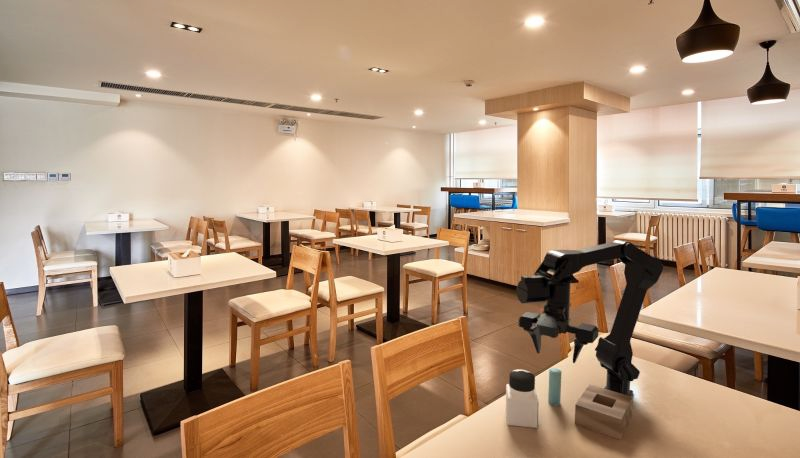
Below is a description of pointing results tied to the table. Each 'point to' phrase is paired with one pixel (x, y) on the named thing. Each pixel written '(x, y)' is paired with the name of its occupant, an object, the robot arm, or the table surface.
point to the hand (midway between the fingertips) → (555, 357)
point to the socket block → (603, 411)
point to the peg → (554, 387)
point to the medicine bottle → (521, 399)
